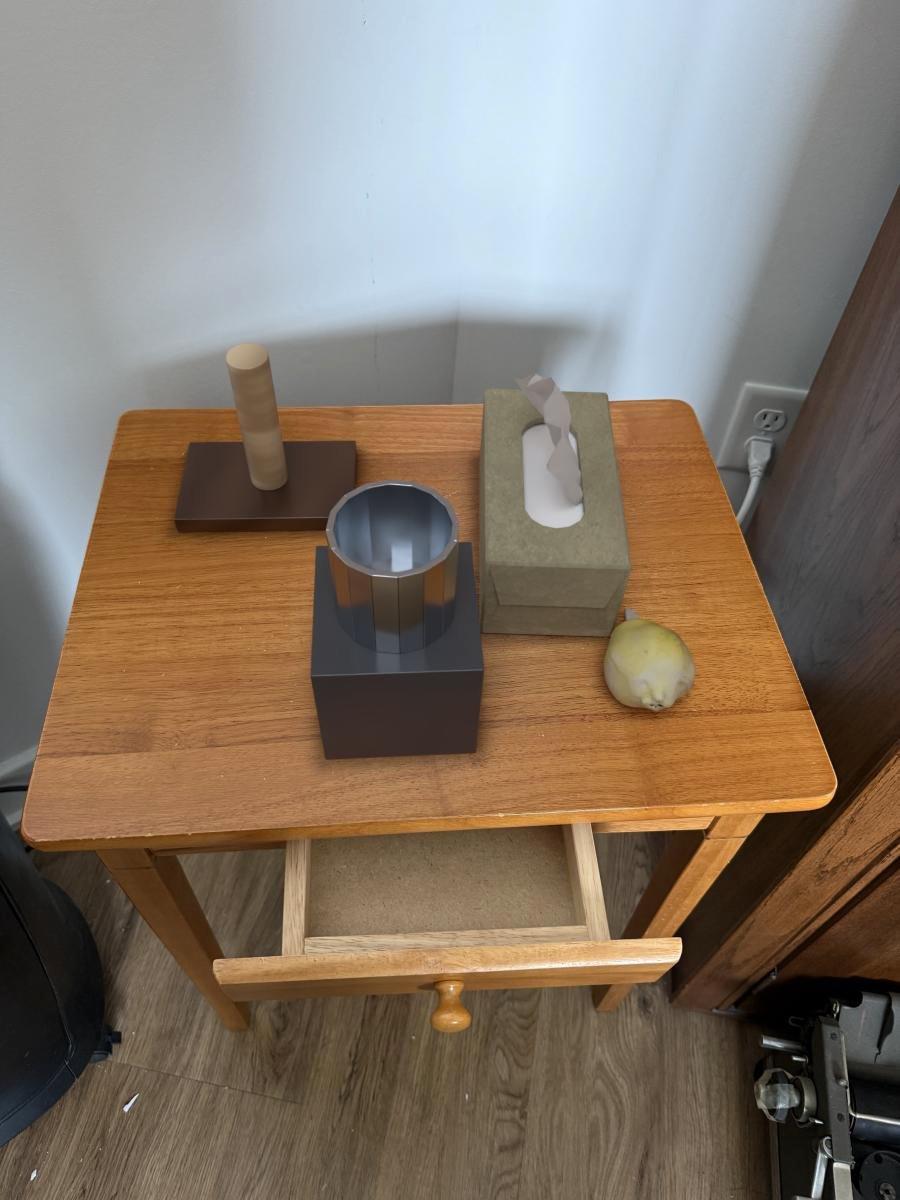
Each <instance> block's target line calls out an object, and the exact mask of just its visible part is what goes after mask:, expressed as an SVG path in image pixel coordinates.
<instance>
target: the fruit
mask: <svg viewBox="0 0 900 1200" xmlns="http://www.w3.org/2000/svg"><path fill="white" fill-rule="evenodd" d="M624 616H625V620H624V621H622V622H621V623H619V624H618V625H617V626H615V627H614V630H613V632H612V634H611V636H610V637H609V638H610V639H609V641H608V645H607V649H606V652H605V654H604V658H603V675H604V680H605V683H606V685H607V688H608V690H609V692H610V693H611V694H612V696H613V697H614V699H615V700H616V701H617V702H618V703H620V704H621V705H624V706H627V707H631V708H644V709H648V710H652V711H654V712H659V711H662V710H663V709H668V708H671V707H672V706H673V705H674V703H675V702H676V701H677V700H678V699H680V698H682V697H683V696H685V695H686V694H687V693H689V692H691V690H692V688H693V685H694V682H695V680H696V674H697V673H696V663H695V660H694V657H693V655H692V653H691V651H690V649H689V647H688V646H687V644H686V642H685V641H684V640H683V638H682V637H681V636H680V634H678V633H677V632H676V631H674V630H673V629H671V628H669V627H666V626H664V625H661V624H659V623H658V622H656V621H653V620H650V619H646V618H641V617H640V616H639V614H638V613H636V612H635V611H634V610H633V609H632V608H630V607H625V608H624Z"/></svg>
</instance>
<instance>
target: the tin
mask: <svg viewBox="0 0 900 1200" xmlns="http://www.w3.org/2000/svg"><path fill="white" fill-rule="evenodd" d="M460 523H461V522H460V520H459V518H458V515H457V513H456V510H455V508H454V506H453V504H452V503H451V502H450V501H449V500H447V499H446V498H445V497H444V496H443V495H442V494H441V493H440V492H439V491H438V490H436V489H434V488H431V487H430V486H427V485H424V484H421V483H418V482H416V481H412V480H400V479H384V480H378V481H373V482H369V483H365V484H362V485H360V486H359V487H356V489H355V490H353V491H351V492H349V493H347V494H346V495H344V496H343V497H342V498H341V499H340V501H339V502H338V503H337V504H336V505H335V507H334V508H333V509H332V510H331V512H330V514H329V519H328V523H327V527H326V530H325V536H326V537H325V538H326V546H328V553H329V561H330V569H331V577H332V586H333V594H334V602H335V609H336V613H337V616H338V620H339V623H340V626H341V628H342V629H343V630H344V631H345V632H346V633H347V634H348V635H349V636H350V637H351V638H352V639H353V640H354V641H355V642H356V643H358V644H360V645H363V646H365V647H367V648H369V649H371V650H374V651H377V652H386V653H398V654H400V653H405V652H410V651H414V650H418V649H422V648H423V647H424V648H425V647H426V646H428V645H429V644H431V643H432V642H434V641H435V640H437V639H438V638H440V637H441V636H442V635H443V634H444V633H445V631H446V630H447V628H448V627H449V625H450V624H451V622H452V620H453V618H454V612H455V602H456V584H457V565H458V545H459V542H460Z"/></svg>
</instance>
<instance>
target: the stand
mask: <svg viewBox="0 0 900 1200" xmlns="http://www.w3.org/2000/svg"><path fill="white" fill-rule="evenodd" d="M473 554H474V553H473V544H472V541H459V545H458V565H457V584H456V602H455V612H454V618H453V620H452V622H451V624H450V625H449V627H448V628H447V630H446V631H445V633H444V634H443V635H442V636H441V637H440V638H438V639H437V640H435V641H434V642H432V643H431V644H429V645H428V646H426V647H425V648H424V647H423V648H422V649H418V650H414V651H410V652H405V653H400V654H398V653H386V652H377V651H374V650H371V649H369V648H367V647H365V646H363V645H360V644H358V643H356V642H355V641H354V640H353V639H352V638H351V637H350V636H349V635H348V634H347V633H346V632H345V631H344V630H343V629H342V628H341V626H340V623H339V620H338V616H337V613H336V609H335V602H334V594H333V586H332V577H331V569H330V561H329V553H328V545H316V546H315V559H314V583H313V585H314V586H313V603H312V605H313V606H312V607H313V608H312V629H311V630H312V631H311V650H310V651H311V653H310V672H309V673H310V675H309V676H310V682H311V689H312V693H313V699H314V704H315V710H316V716H317V721H318V722H317V723H318V726H319V732H320V733H319V734H320V738H321V739H320V740H321V745H322V748H323V749H322V750H323V755H324V759H325V760H341V759H364V758H365V759H366V758H386V757H387V758H388V757H389V758H390V757H391V758H392V757H410V756H411V757H413V756H414V757H415V756H434V755H435V756H437V755H459V754H462V755H463V754H476V753H477V747H478V746H477V745H478V736H479V727H480V726H479V725H480V716H481V707H482V696H483V688H484V687H483V686H484V679H485V677H484V676H485V664H484V663H485V662H484V661H485V660H484V653H483V644H482V632H481V631H480V622H479V603H478V594H477V585H476V573H475V563H474V562H475V561H474V555H473Z"/></svg>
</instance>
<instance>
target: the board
mask: <svg viewBox="0 0 900 1200" xmlns="http://www.w3.org/2000/svg"><path fill="white" fill-rule="evenodd" d="M282 441H283V447H284V453H285V459H286V466H287V472H288V479H287V481H286V483H285V484H284V485H283V486H282V487H280V488H278V489H275V490H261V489H258V488H257V487H255V486H254V485H253V484H252V482H251V478H250V473H249V468H248V463H247V458H246V454H245V449H244V444H243V441H189V443H188V446H187V447H188V448H187V451H186V457H185V462H184V466H183V472H182V477H181V482H180V486H179V491H178V497H177V502H176V506H175V511H174V516H173V522H174V524H175V525H174V526H175V528H176V531H177V533H208V532H209V533H211V532H213V533H214V532H220V533H221V532H279V531H280V532H281V531H283V532H284V531H287V532H289V531H326V527H327V523H328V519H329V514H330V512H331V510H332V509H333V508H334V507H335V505H336V504H337V503H338V502H339V501H340V499H341V498H342V497H343V496H344V495H346V494H347V493H349V492H351V491H353V490H355V489H357V485H356V484H357V458H358V457H357V453H358V451H357V441H356V440H282Z"/></svg>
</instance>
